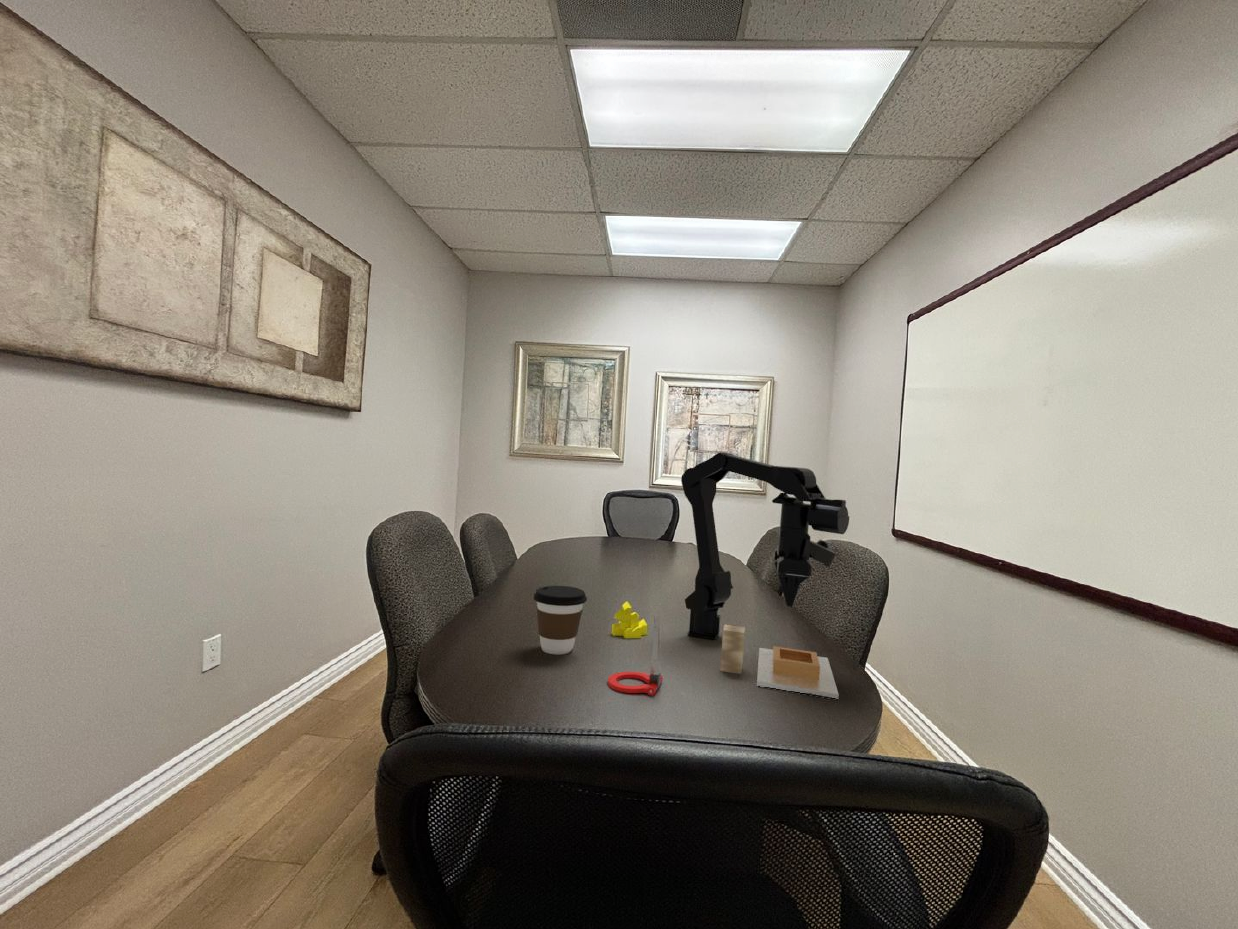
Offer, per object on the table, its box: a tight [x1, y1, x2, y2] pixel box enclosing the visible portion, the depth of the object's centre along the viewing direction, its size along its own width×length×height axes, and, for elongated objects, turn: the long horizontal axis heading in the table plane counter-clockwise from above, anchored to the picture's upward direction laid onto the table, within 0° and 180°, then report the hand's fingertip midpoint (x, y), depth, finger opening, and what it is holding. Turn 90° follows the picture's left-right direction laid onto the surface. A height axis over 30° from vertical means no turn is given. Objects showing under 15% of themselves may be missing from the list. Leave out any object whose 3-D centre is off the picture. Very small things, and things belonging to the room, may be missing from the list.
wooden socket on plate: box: [756, 645, 840, 700], centre depth 110 cm, size 14×20×4 cm
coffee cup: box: [533, 585, 588, 655], centre depth 114 cm, size 11×11×12 cm
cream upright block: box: [719, 624, 746, 675], centre depth 110 cm, size 4×4×8 cm
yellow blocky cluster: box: [611, 600, 648, 639], centre depth 128 cm, size 6×8×8 cm
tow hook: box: [607, 614, 663, 697], centre depth 99 cm, size 8×13×9 cm
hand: (787, 601), depth 117 cm, fingers open, 9 cm apart
